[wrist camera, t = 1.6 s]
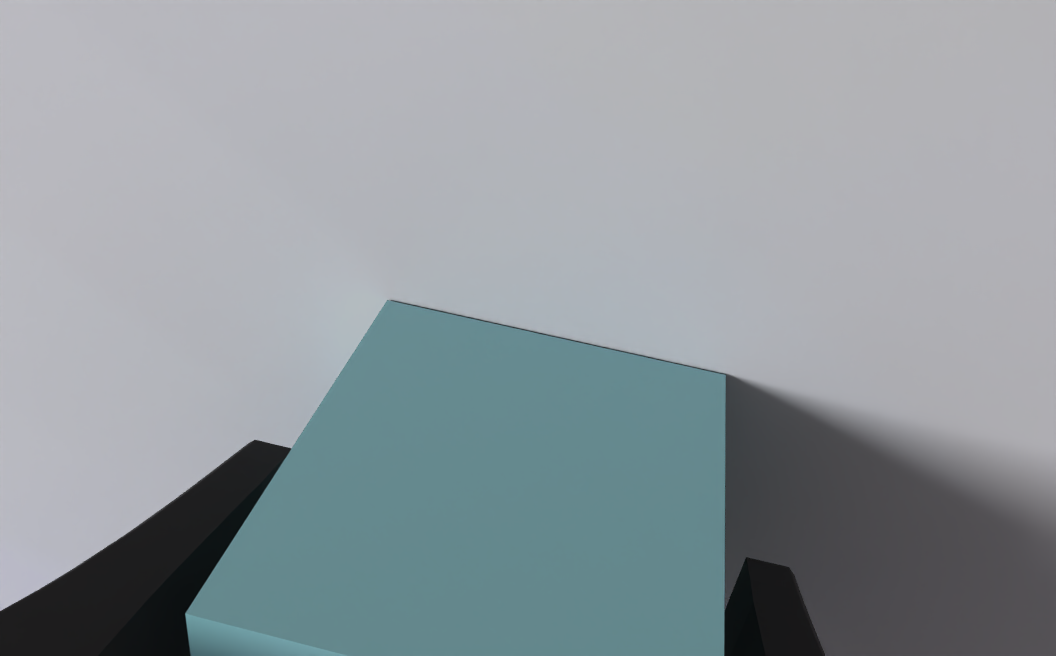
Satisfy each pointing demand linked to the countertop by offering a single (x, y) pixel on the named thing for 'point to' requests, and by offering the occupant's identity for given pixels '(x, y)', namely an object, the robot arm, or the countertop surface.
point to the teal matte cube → (485, 506)
